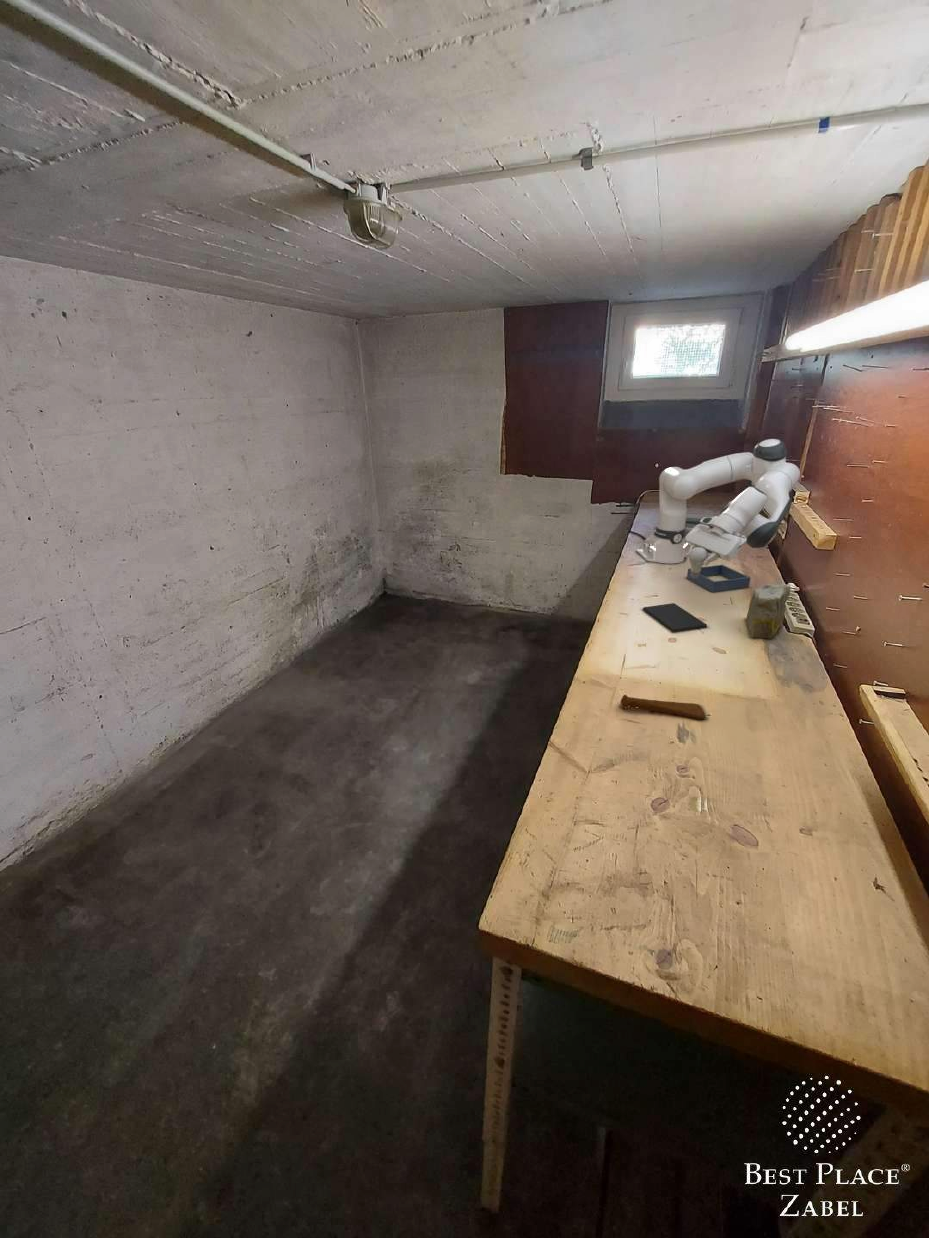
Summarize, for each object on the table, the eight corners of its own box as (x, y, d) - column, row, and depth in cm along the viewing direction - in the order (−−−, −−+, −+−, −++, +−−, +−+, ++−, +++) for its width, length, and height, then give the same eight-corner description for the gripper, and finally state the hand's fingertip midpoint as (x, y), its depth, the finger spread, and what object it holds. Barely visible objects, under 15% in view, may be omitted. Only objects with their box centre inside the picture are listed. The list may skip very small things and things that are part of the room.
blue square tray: (686, 578, 195) (688, 568, 193) (720, 573, 198) (722, 564, 196) (712, 592, 181) (714, 582, 179) (748, 587, 184) (750, 577, 182)
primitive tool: (699, 706, 119) (701, 694, 118) (706, 720, 114) (708, 708, 113) (619, 702, 122) (620, 691, 120) (622, 716, 117) (624, 704, 116)
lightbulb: (706, 581, 163) (711, 550, 158) (686, 581, 164) (692, 550, 159) (701, 575, 168) (707, 544, 163) (682, 574, 169) (687, 544, 164)
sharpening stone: (711, 537, 242) (715, 515, 238) (710, 541, 236) (714, 519, 231) (658, 532, 253) (661, 511, 249) (656, 536, 247) (659, 515, 242)
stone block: (749, 638, 149) (760, 593, 142) (745, 618, 161) (755, 576, 154) (787, 643, 145) (800, 597, 138) (781, 622, 157) (792, 579, 150)
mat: (642, 609, 170) (643, 607, 170) (673, 605, 172) (673, 603, 172) (673, 632, 154) (673, 629, 154) (706, 627, 156) (706, 624, 156)
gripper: (754, 543, 153) (722, 576, 155) (707, 527, 171) (680, 557, 173) (745, 531, 150) (713, 565, 152) (699, 516, 168) (671, 547, 170)
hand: (695, 560), depth 163 cm, fingers closed on lightbulb, 6 cm apart
